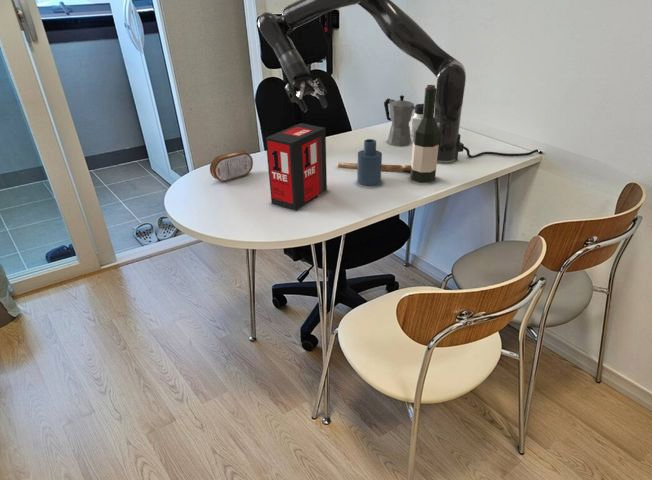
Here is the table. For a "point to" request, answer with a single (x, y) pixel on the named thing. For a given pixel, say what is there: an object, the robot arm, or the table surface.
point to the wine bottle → (425, 141)
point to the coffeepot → (399, 121)
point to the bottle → (369, 164)
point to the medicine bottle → (417, 116)
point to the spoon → (383, 167)
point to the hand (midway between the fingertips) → (316, 108)
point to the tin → (231, 165)
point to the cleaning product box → (297, 165)
